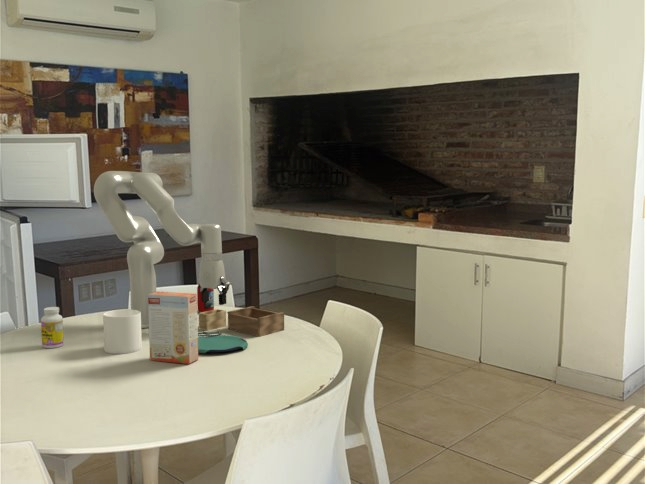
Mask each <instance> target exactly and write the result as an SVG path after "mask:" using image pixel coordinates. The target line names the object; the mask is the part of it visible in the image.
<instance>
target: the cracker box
mask: <svg viewBox="0 0 645 484" xmlns="http://www.w3.org/2000/svg"><path fill="white" fill-rule="evenodd" d="M148 309H149V328H148V335H149V337H148V338H149V340H148V341H149V361H156V362H164V363H175V364H183V365H191V364H192V363H194V362H196V361H198V360H199V353H198V337H199V336H198V335H199V334H198V333H199V320H198V304H197V293H190V292H187V293H186V292H175V291H174V292H172V291H156V292H154V293H151V294H148Z"/></svg>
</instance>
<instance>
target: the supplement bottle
mask: <svg viewBox="0 0 645 484" xmlns="http://www.w3.org/2000/svg"><path fill="white" fill-rule="evenodd" d="M43 313H44V315H43V316H42V317H41V319H40V327H41V329H40V330H41V347H42V348H43V349H57V348H60V347H62V346H63V345H64V324H63V323H64V321H63V320H64V318H63V316H62V315H61V314H59V313H60V307H59V306H50V307H49V306H48V307H45V308H43Z"/></svg>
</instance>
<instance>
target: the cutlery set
mask: <svg viewBox="0 0 645 484" xmlns="http://www.w3.org/2000/svg"><path fill="white" fill-rule="evenodd" d="M248 346H249V343H248V341H247V340H246V339H244V338H243V337H239V336H238V335H228V334H222V332H220V331H218V330H217V331H206V330H203V331H201V332H198V354H206V353H224V352H231V351H236V350H238V349H241V348H243V351H245V350H246V349H248Z"/></svg>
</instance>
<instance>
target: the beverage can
mask: <svg viewBox="0 0 645 484" xmlns="http://www.w3.org/2000/svg"><path fill="white" fill-rule="evenodd" d="M196 289H197V290H196V291H197V292H196V294H197V312H199V311H200V312H199V313H201V312H206V311H211V310H215V292H214V290H215V289H209V288H208V290H207V291H209V301H207V302H202V298H201V291H200V288H199V286H198V285H197V288H196Z"/></svg>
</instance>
